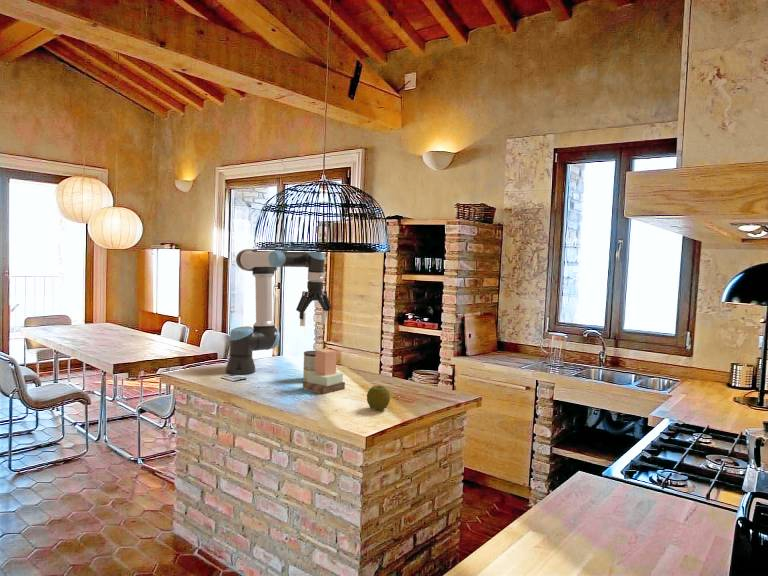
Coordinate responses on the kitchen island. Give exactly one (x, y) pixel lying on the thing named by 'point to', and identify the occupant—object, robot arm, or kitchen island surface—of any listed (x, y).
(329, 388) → the walnut block
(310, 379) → the sage block
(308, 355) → the coffee can
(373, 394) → the apple
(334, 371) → the terracotta block
